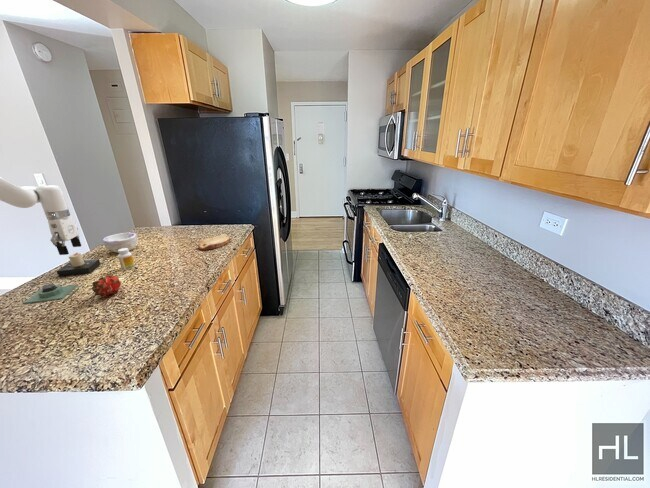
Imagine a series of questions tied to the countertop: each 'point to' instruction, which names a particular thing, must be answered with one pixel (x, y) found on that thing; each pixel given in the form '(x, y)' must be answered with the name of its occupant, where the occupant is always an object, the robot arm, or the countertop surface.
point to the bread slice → (214, 242)
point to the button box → (52, 294)
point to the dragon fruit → (106, 285)
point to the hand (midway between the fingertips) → (71, 250)
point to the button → (49, 288)
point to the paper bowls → (120, 241)
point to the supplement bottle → (125, 259)
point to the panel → (79, 268)
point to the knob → (76, 260)
